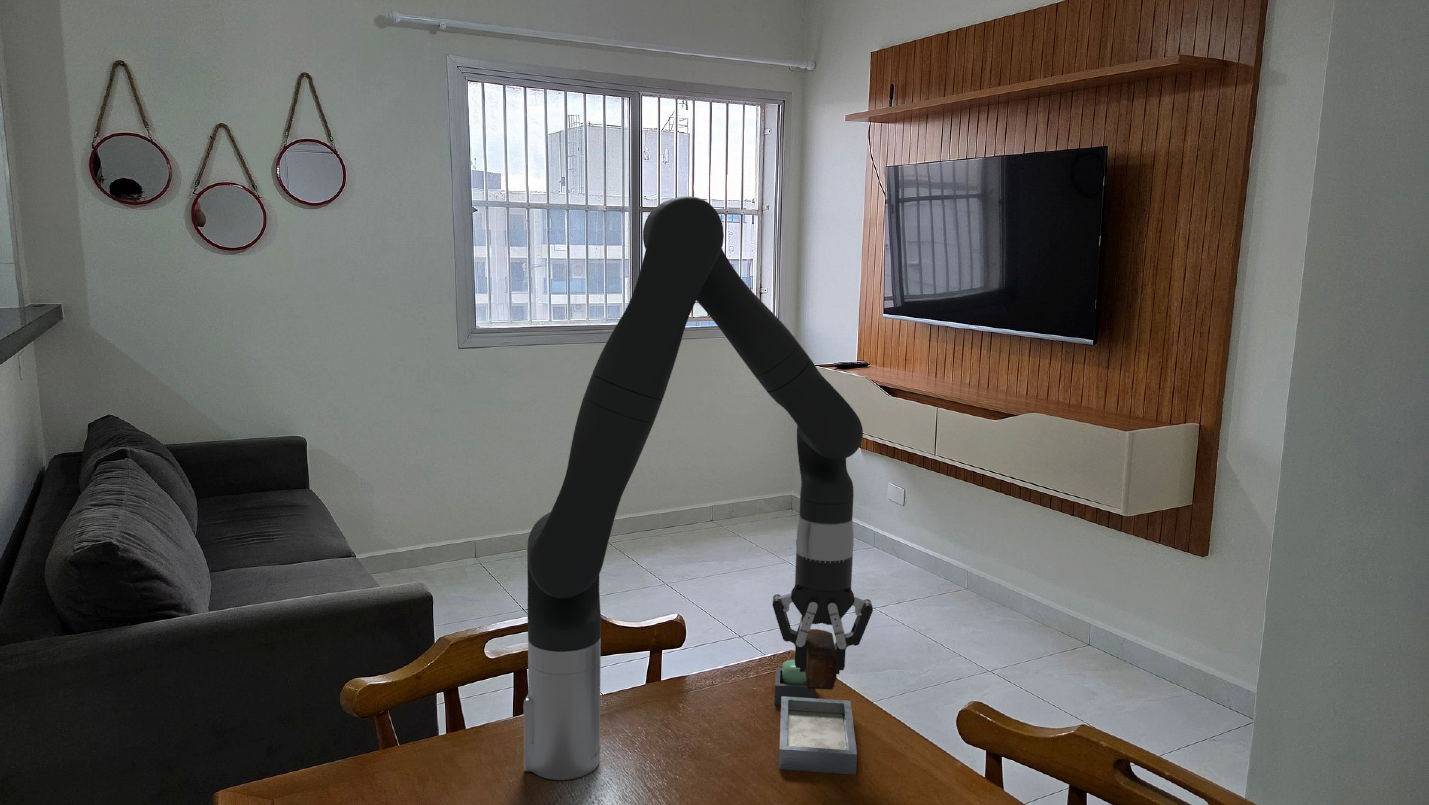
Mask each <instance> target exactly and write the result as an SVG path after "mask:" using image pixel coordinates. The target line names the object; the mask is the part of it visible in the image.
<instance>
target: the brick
mask: <svg viewBox="0 0 1429 805" xmlns="http://www.w3.org/2000/svg"><path fill="white" fill-rule="evenodd" d="M805 673H806V683H807V688H808V689H815V690H831V691H832V690H833V689H834V688H835V683H836V681H837V679H838V678H837V675H838V674H837V656H836V651H835V639H834V636H833V633H832V632H830V631H827V630H822V629H818V628H810V631H809V633H808V635H807V638H806V655H805Z"/></svg>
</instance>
